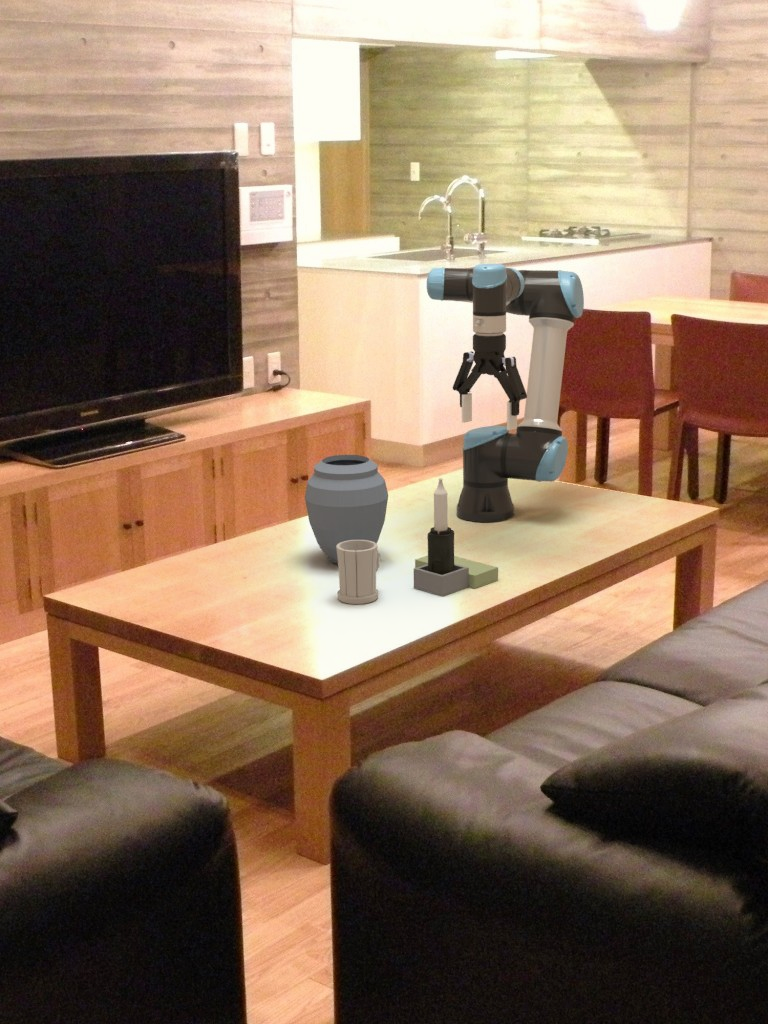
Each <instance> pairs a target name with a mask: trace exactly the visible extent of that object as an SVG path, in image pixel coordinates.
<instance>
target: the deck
mask: <svg viewBox="0 0 768 1024" xmlns="http://www.w3.org/2000/svg"><path fill="white" fill-rule="evenodd" d="M498 581H499V567H498V566H494V565H490V564H486V563H482V562H479V561H475V560H471V559H466V558H463V557H461V556H460V557H459V556H456V555H454V571H453V572H450V573H447V574H444V575H440V574H437V573H433V572H429V571H428V555H425V556H422V557H419V558H415V560H414V568H413V589H416V590H419V591H423V592H426V593H430V594H433V595H436V596H440V597H444V596H448V595H450V594H453V593H454V594H455V593H456V592H459V591H462V590H465V589H467V588H471V589H477V588H480V587H483V586H485V585H488V584H491V582H492V583H494V582H498Z"/></svg>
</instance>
